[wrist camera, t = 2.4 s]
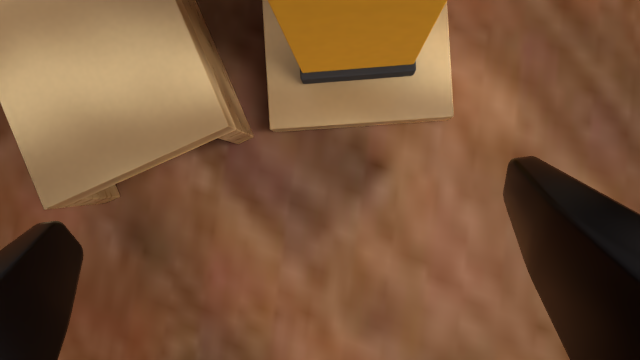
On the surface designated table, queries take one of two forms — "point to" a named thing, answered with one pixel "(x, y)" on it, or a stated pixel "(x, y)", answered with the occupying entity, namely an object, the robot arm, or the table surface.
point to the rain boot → (356, 36)
